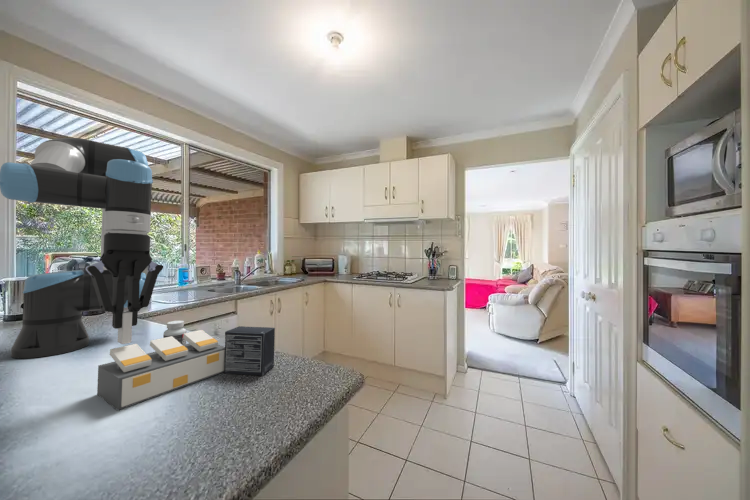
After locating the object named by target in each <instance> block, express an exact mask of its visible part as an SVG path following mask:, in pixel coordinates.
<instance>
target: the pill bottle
mask: <svg viewBox="0 0 750 500" xmlns="http://www.w3.org/2000/svg"><path fill="white" fill-rule="evenodd" d="M184 325H185V321H184V320H173V321H172V320H171V321H168V322H167V323H166V329H167V330H165V331H163V337H162V338H166V337H170V336H173V337H174V338H175V339H176V340H177V341H178V342H179V343H181V344H182V345H185V344H187V341H186V340H185V339H184V338H183V335H184V333H187V329H186V328H184Z"/></svg>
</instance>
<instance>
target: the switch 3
mask: <svg viewBox="0 0 750 500" xmlns="http://www.w3.org/2000/svg"><path fill="white" fill-rule="evenodd" d="M183 338H184V339H185V340H186V343H187V344H189V343H190V344H191V345H192V346H193V347H194V348H195V349H197V350H198V351H199V352H200V351H204V350H207V349H211V348H215V347H218V345H219V340H217V339H215V338H214V337H212V336H211V335H210V334H208V333H206V331H204V330H203V329H199V330H194V331H190V332H186V333H184V335H183Z"/></svg>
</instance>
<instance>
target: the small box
mask: <svg viewBox="0 0 750 500" xmlns="http://www.w3.org/2000/svg"><path fill="white" fill-rule="evenodd" d="M275 330H276V328H275V327H265V326H263V327H262V326H245V325H244V326H240V325H239V326H236V327H234V328H231V329H229V330H226V331H225V332H224V337H225V338H224V341H225V343H224V347H225V362H224V363H225V364H224V372H223V373H224V374H226V375H227V374H229V375H246V376H261V377H262V376H264V375H265V374H266V373H268V372H269V371H270V370H272V368H274V367H275V337H276V336H275V334H276V333H275Z"/></svg>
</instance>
